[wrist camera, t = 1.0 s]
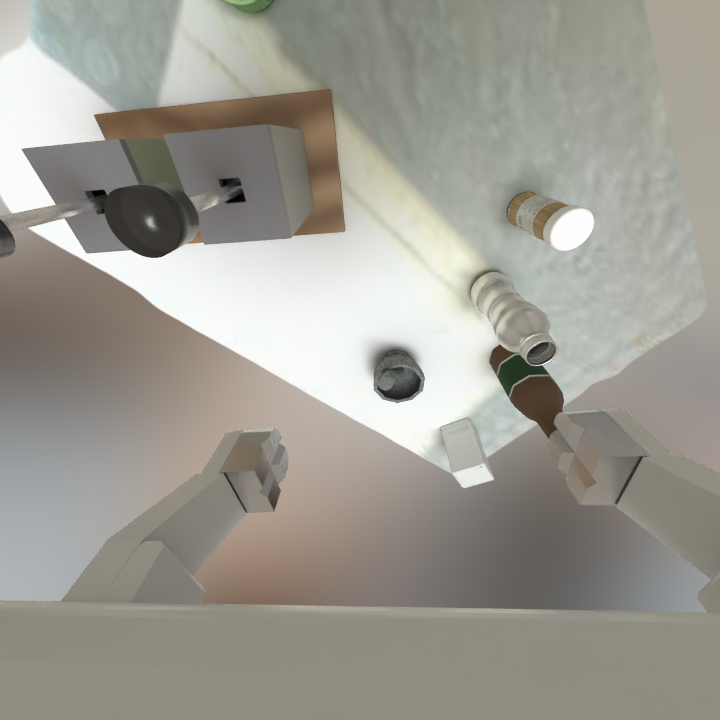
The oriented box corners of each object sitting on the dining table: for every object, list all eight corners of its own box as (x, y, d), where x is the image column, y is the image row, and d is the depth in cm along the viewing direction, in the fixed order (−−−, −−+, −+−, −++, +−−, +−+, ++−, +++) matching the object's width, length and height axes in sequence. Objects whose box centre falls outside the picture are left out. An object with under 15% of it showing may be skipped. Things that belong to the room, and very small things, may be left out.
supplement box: (439, 426, 73) (450, 472, 63) (468, 416, 70) (485, 463, 60) (450, 443, 76) (462, 489, 66) (478, 434, 74) (495, 480, 64)
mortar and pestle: (427, 367, 62) (438, 409, 52) (389, 386, 65) (393, 429, 55) (399, 329, 56) (405, 368, 47) (360, 352, 60) (358, 393, 50)
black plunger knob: (83, 156, 30) (-206, 172, 15) (151, 149, 30) (-76, 159, 15) (123, 232, 35) (-69, 303, 19) (182, 227, 34) (34, 297, 19)
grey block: (234, 136, 38) (163, 134, 25) (302, 129, 37) (267, 124, 24) (254, 213, 43) (204, 244, 30) (314, 208, 43) (290, 238, 30)
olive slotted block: (138, 146, 39) (21, 148, 26) (204, 139, 38) (118, 139, 25) (170, 220, 44) (86, 253, 31) (228, 215, 43) (167, 247, 30)
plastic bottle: (462, 302, 53) (503, 373, 37) (474, 265, 49) (526, 327, 33) (497, 306, 53) (553, 378, 37) (512, 269, 49) (583, 332, 33)
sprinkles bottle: (537, 220, 44) (591, 246, 33) (505, 228, 45) (548, 256, 34) (540, 186, 42) (600, 203, 31) (506, 196, 42) (553, 214, 32)
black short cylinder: (204, 144, 29) (28, 148, 14) (276, 137, 29) (173, 134, 14) (229, 223, 34) (115, 291, 19) (292, 218, 33) (228, 284, 18)
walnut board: (102, 115, 38) (93, 114, 37) (331, 91, 36) (329, 89, 35) (161, 243, 48) (156, 245, 46) (345, 229, 46) (344, 231, 44)
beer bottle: (531, 362, 60) (607, 466, 41) (492, 374, 62) (547, 478, 43) (526, 333, 56) (608, 433, 37) (485, 347, 58) (542, 448, 39)
